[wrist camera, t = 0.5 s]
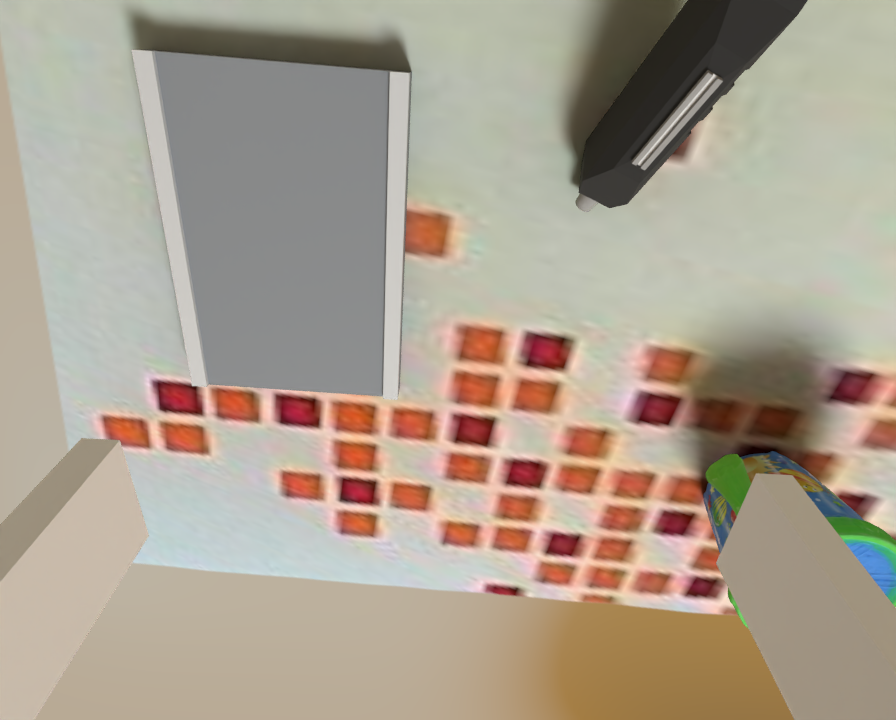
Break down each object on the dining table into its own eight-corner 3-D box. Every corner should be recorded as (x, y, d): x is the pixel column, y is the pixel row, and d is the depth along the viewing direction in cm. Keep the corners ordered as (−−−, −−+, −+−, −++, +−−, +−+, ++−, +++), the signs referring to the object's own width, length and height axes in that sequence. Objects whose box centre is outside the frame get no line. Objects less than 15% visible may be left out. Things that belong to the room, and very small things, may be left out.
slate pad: (148, 49, 29) (131, 49, 28) (411, 71, 30) (409, 73, 28) (202, 372, 39) (192, 385, 37) (399, 385, 39) (397, 399, 38)
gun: (571, 123, 36) (557, 223, 30) (783, -193, 23) (829, -120, 17) (607, 142, 37) (601, 245, 31) (835, -154, 24) (896, -72, 18)
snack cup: (642, 454, 42) (692, 562, 33) (775, 383, 39) (870, 481, 30) (727, 566, 48) (789, 681, 39) (849, 512, 45) (945, 625, 36)
